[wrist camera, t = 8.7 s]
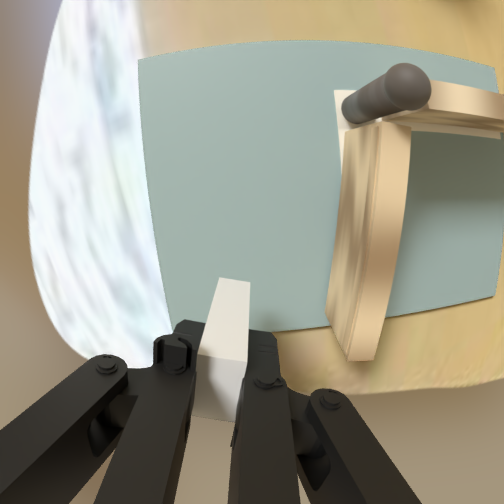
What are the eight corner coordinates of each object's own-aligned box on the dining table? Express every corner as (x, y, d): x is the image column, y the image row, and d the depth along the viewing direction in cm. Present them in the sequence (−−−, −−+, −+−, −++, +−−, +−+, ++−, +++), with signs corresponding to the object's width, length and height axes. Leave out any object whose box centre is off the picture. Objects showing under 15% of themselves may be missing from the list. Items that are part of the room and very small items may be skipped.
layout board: (491, 68, 16) (494, 67, 15) (492, 293, 21) (495, 295, 20) (139, 61, 16) (137, 59, 16) (175, 335, 21) (173, 338, 21)
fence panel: (343, 131, 17) (381, 120, 11) (368, 135, 17) (412, 127, 12) (323, 312, 20) (346, 361, 14) (346, 312, 20) (374, 360, 14)
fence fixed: (498, 111, 17) (576, 106, 9) (500, 137, 17) (580, 140, 9) (335, 94, 17) (391, 54, 9) (338, 126, 17) (399, 105, 10)
